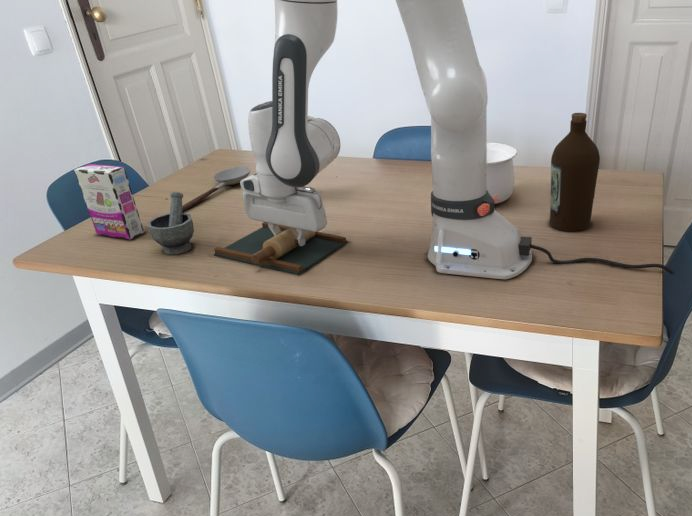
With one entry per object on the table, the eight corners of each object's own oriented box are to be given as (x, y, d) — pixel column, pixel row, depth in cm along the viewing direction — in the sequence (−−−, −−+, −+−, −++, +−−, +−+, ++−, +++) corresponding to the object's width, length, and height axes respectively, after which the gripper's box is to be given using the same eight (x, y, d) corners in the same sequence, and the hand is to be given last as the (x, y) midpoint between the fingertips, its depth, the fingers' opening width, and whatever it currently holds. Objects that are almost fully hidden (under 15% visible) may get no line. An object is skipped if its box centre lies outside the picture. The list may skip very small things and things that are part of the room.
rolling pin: (329, 231, 149) (327, 213, 147) (265, 271, 132) (261, 251, 130) (314, 228, 151) (312, 210, 148) (249, 267, 134) (244, 248, 132)
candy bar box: (146, 232, 154) (125, 166, 145) (131, 240, 151) (109, 172, 141) (111, 227, 158) (89, 162, 149) (95, 235, 154) (72, 169, 145)
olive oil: (586, 214, 153) (597, 107, 139) (597, 231, 144) (610, 119, 131) (543, 216, 153) (549, 109, 139) (551, 234, 144) (559, 121, 130)
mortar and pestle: (184, 259, 141) (170, 207, 134) (147, 256, 142) (131, 205, 136) (209, 238, 150) (197, 189, 143) (174, 236, 152) (160, 188, 145)
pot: (503, 217, 153) (505, 168, 147) (436, 211, 159) (435, 163, 152) (523, 188, 171) (525, 142, 164) (462, 183, 176) (461, 139, 169)
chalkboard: (347, 242, 145) (346, 236, 144) (298, 275, 132) (297, 268, 131) (267, 226, 155) (266, 221, 154) (214, 255, 142) (212, 249, 141)
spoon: (261, 176, 185) (258, 166, 184) (187, 222, 161) (183, 211, 159) (231, 176, 189) (228, 166, 188) (155, 221, 165) (151, 210, 163)
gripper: (328, 183, 131) (336, 245, 139) (253, 172, 140) (265, 230, 147) (310, 193, 127) (319, 256, 134) (233, 180, 135) (246, 240, 143)
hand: (290, 242), depth 141 cm, fingers closed on rolling pin, 4 cm apart
